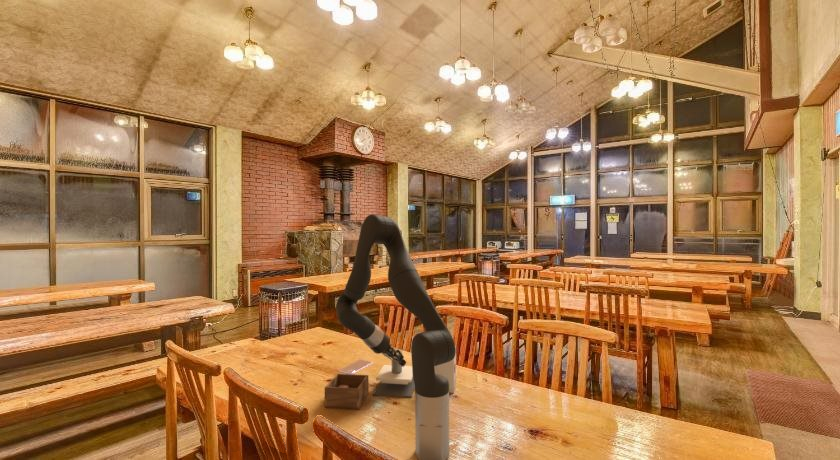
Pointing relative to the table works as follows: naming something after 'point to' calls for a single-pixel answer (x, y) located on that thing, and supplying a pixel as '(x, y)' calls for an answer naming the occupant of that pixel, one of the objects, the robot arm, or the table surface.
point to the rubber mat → (395, 389)
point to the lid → (395, 373)
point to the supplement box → (448, 372)
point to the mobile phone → (355, 367)
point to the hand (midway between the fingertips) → (400, 362)
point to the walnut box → (346, 391)
